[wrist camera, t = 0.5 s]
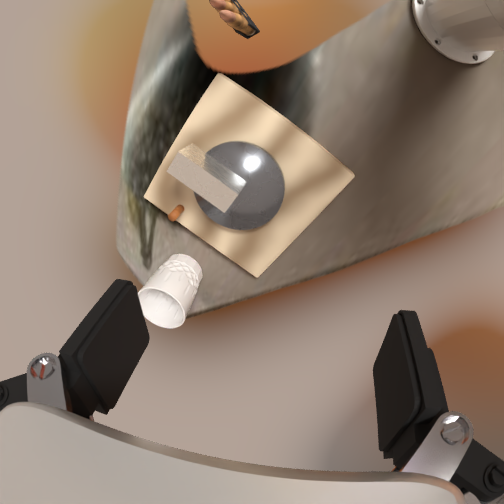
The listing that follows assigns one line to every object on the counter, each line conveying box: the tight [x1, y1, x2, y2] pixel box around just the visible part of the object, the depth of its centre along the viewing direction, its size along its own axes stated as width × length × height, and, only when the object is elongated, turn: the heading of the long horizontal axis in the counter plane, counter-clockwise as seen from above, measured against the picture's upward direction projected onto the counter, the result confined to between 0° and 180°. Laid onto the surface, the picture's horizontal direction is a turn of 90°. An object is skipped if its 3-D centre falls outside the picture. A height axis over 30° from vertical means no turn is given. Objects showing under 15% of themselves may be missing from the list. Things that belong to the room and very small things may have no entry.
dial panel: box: [144, 73, 355, 278], centre depth 40 cm, size 21×21×4 cm
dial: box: [167, 141, 285, 230], centre depth 38 cm, size 14×12×5 cm
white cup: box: [138, 254, 203, 329], centre depth 48 cm, size 8×8×10 cm
